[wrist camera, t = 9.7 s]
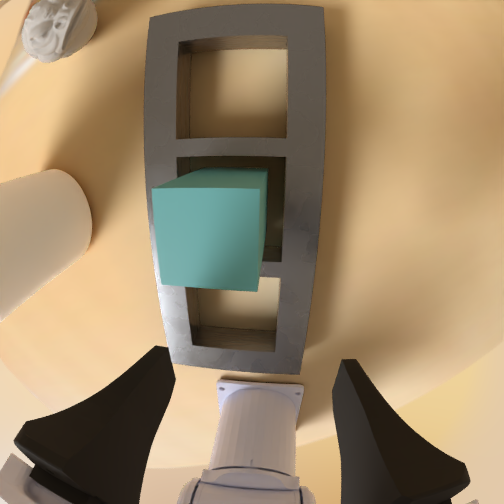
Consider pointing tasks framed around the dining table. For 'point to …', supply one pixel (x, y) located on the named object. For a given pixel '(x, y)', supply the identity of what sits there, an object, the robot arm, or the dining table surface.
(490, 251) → the dining table surface
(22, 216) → the beverage can
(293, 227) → the rail
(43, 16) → the grey lumpy piece
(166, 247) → the square peg
